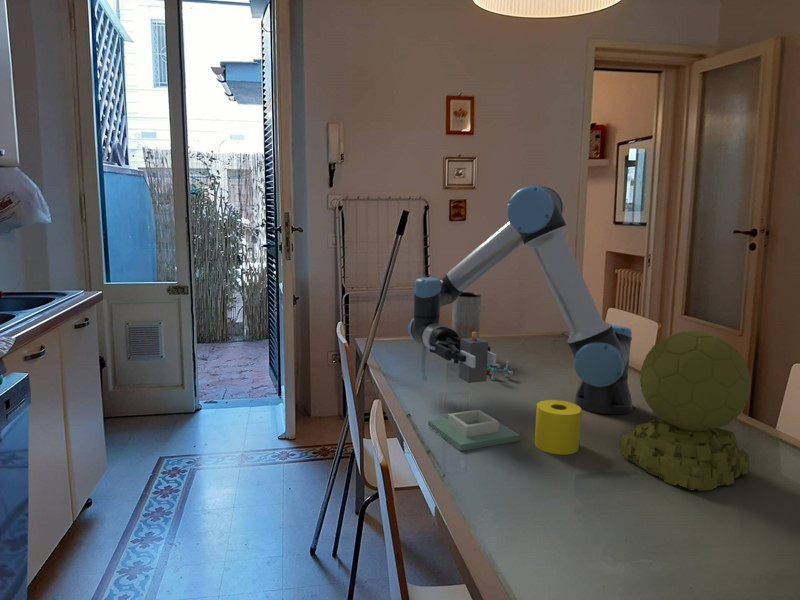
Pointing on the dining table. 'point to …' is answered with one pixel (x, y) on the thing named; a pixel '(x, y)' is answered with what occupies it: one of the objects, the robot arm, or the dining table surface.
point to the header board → (472, 430)
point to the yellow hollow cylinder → (557, 427)
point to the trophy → (691, 412)
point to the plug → (480, 351)
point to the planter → (466, 314)
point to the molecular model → (499, 370)
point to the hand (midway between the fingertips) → (484, 361)
